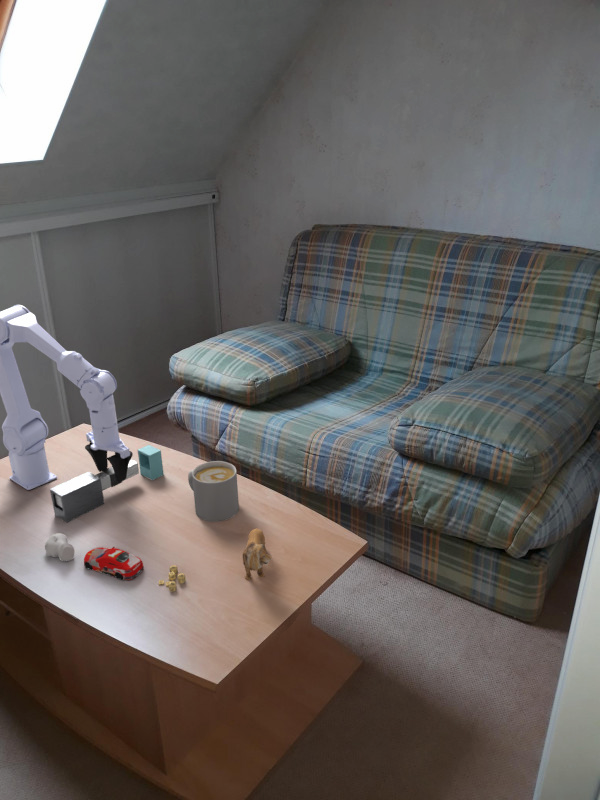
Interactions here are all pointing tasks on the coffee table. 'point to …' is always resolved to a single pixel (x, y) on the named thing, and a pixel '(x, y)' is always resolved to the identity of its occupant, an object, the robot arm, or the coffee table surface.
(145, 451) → the teal socket
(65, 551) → the pale two-lobed sculpture
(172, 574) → the gold nuggets
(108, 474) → the metal square rod
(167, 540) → the coffee table surface
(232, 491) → the coffee mug
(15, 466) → the robot arm
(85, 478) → the graphite sleeve
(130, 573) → the race car
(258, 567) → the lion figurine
